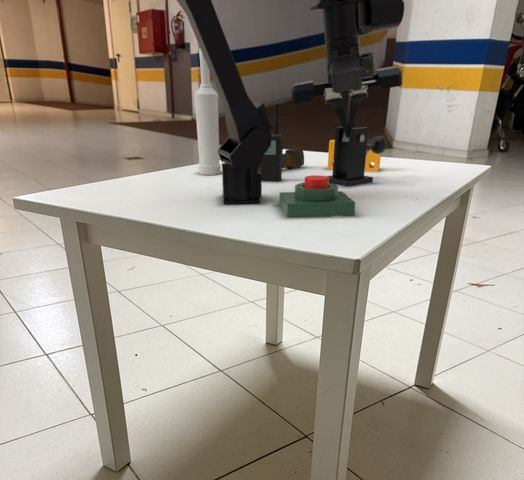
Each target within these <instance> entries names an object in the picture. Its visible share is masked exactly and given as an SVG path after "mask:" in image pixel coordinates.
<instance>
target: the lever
mask: <svg viewBox="0 0 524 480" xmlns="http://www.w3.org/2000/svg"><path fill="white" fill-rule="evenodd" d="M342 142H345V143H349V137H348V138H346V135H345V133H343V138H342ZM367 146H369V150H370V149H371V151H372V152H373V153H375V154H380V155H381V154H382V153H384V152H385V151H386V150H387V147H388V142H387V140H386V138H385V137H384V136H382V135H377V136H374V137H373V138H372V139H370V138H368V140H367Z"/></svg>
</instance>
